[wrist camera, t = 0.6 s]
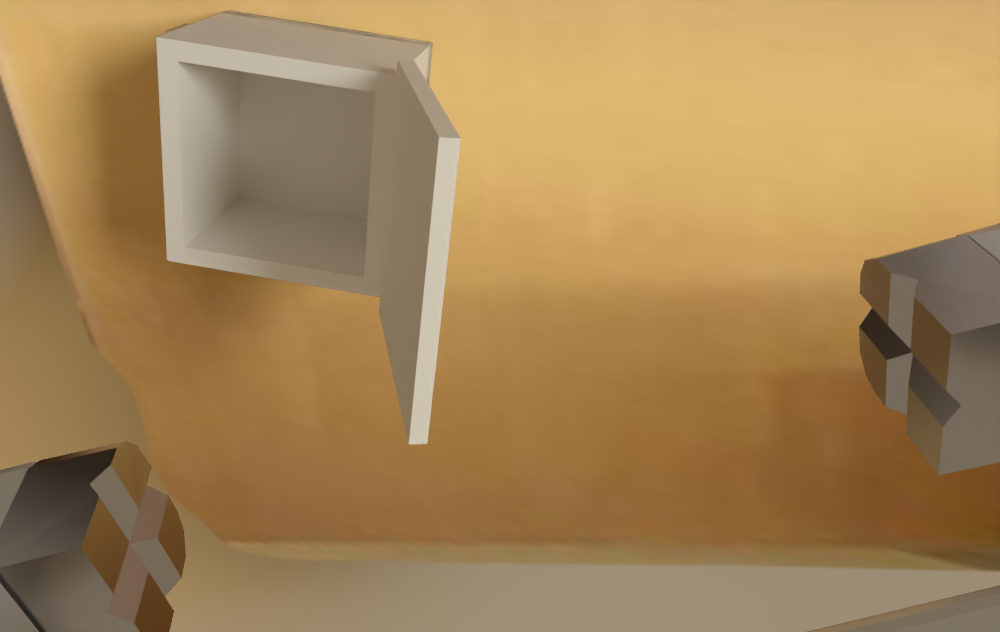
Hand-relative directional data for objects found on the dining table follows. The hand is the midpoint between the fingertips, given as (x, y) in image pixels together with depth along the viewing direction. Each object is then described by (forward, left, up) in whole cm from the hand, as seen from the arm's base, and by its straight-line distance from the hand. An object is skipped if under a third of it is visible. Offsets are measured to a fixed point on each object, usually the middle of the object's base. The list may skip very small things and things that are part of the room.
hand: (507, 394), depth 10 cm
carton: (+11, -15, -43) cm, 47 cm away
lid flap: (+11, -7, -28) cm, 31 cm away
